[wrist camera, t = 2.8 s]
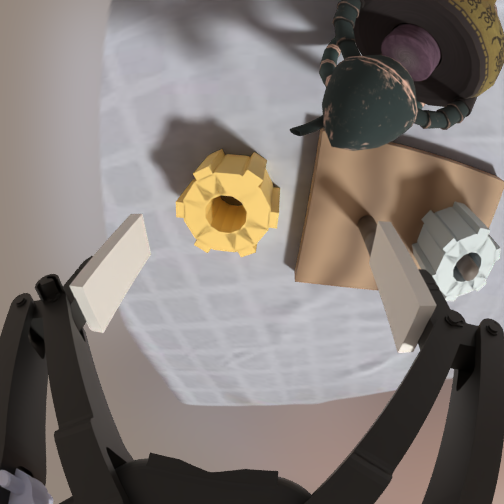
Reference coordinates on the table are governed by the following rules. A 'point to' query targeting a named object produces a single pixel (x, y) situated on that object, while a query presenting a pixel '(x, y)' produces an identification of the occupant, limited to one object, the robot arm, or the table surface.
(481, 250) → the pale grey gear
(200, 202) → the ochre gear
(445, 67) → the teapot
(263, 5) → the table surface
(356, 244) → the gear board
